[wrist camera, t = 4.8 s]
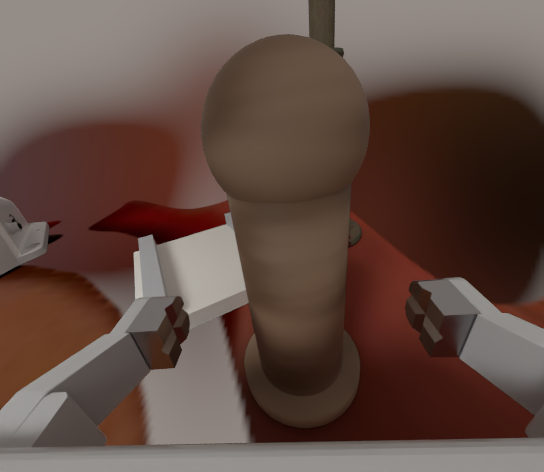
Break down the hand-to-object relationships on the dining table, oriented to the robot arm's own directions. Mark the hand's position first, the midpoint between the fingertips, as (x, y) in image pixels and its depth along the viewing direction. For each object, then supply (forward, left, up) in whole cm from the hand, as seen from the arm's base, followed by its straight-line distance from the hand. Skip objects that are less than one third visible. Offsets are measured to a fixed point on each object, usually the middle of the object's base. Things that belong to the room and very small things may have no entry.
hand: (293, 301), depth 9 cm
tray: (-17, 0, -8) cm, 19 cm away
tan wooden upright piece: (-3, +2, -8) cm, 9 cm away
